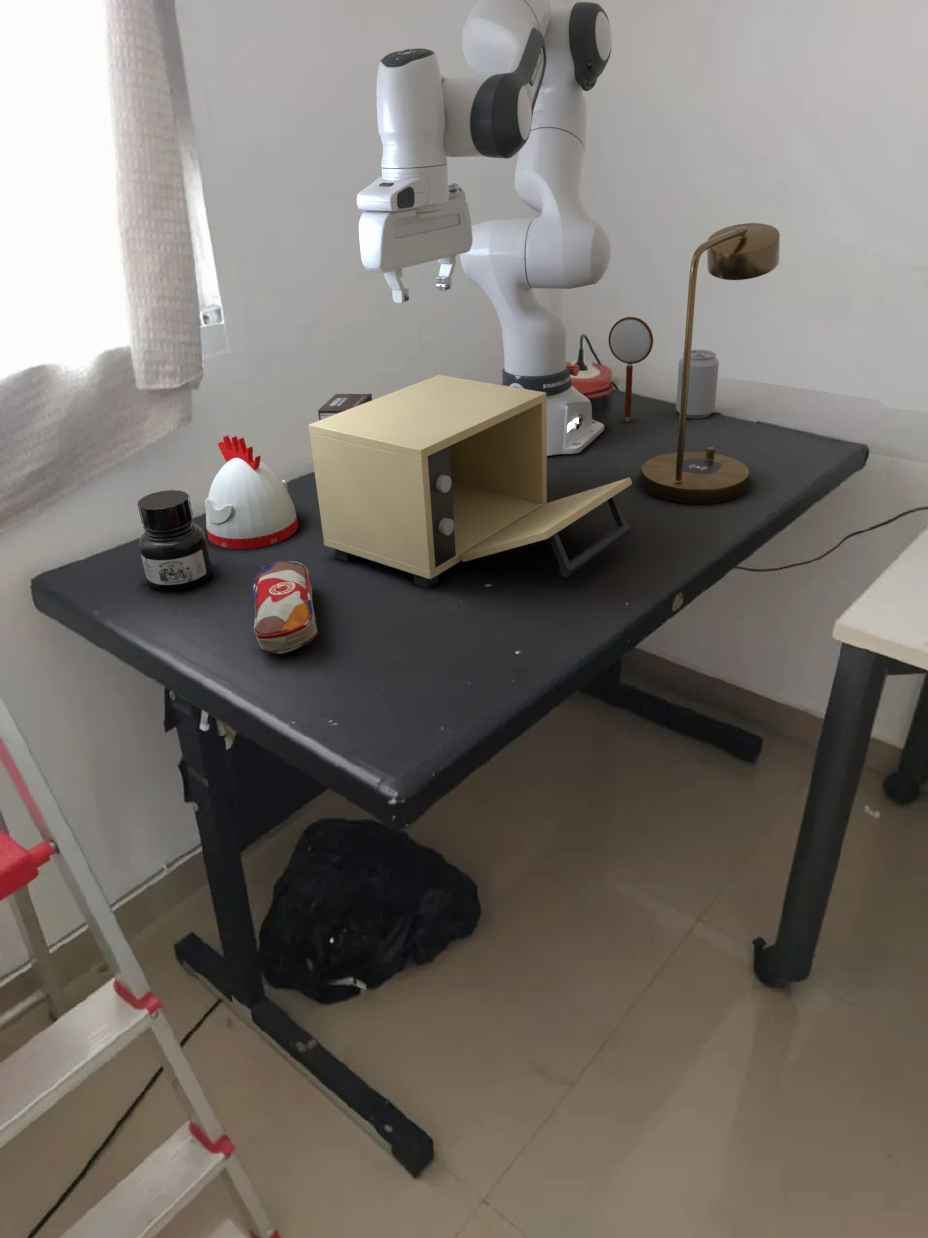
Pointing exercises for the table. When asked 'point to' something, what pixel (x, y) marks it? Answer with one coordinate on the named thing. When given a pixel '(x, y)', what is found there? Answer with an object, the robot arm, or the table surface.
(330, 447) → the oven
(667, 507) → the table surface
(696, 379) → the can
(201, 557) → the ink bottle
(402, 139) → the robot arm
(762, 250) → the lamp
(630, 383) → the magnifying glass
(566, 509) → the oven door
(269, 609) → the pencil case
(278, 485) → the kitchen timer
